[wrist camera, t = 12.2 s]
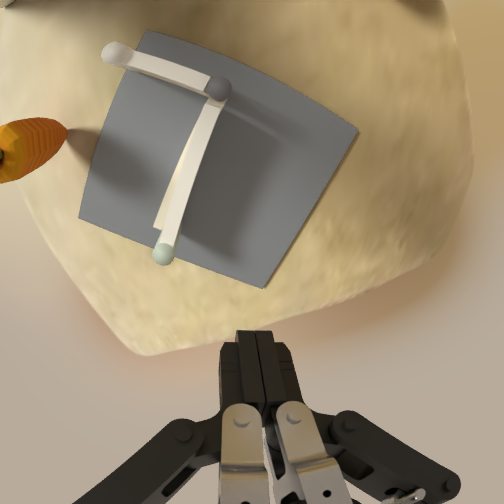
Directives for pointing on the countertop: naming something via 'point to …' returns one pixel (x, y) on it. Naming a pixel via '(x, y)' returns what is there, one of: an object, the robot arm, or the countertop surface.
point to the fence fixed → (165, 70)
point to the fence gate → (185, 186)
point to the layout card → (213, 162)
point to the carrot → (28, 146)
